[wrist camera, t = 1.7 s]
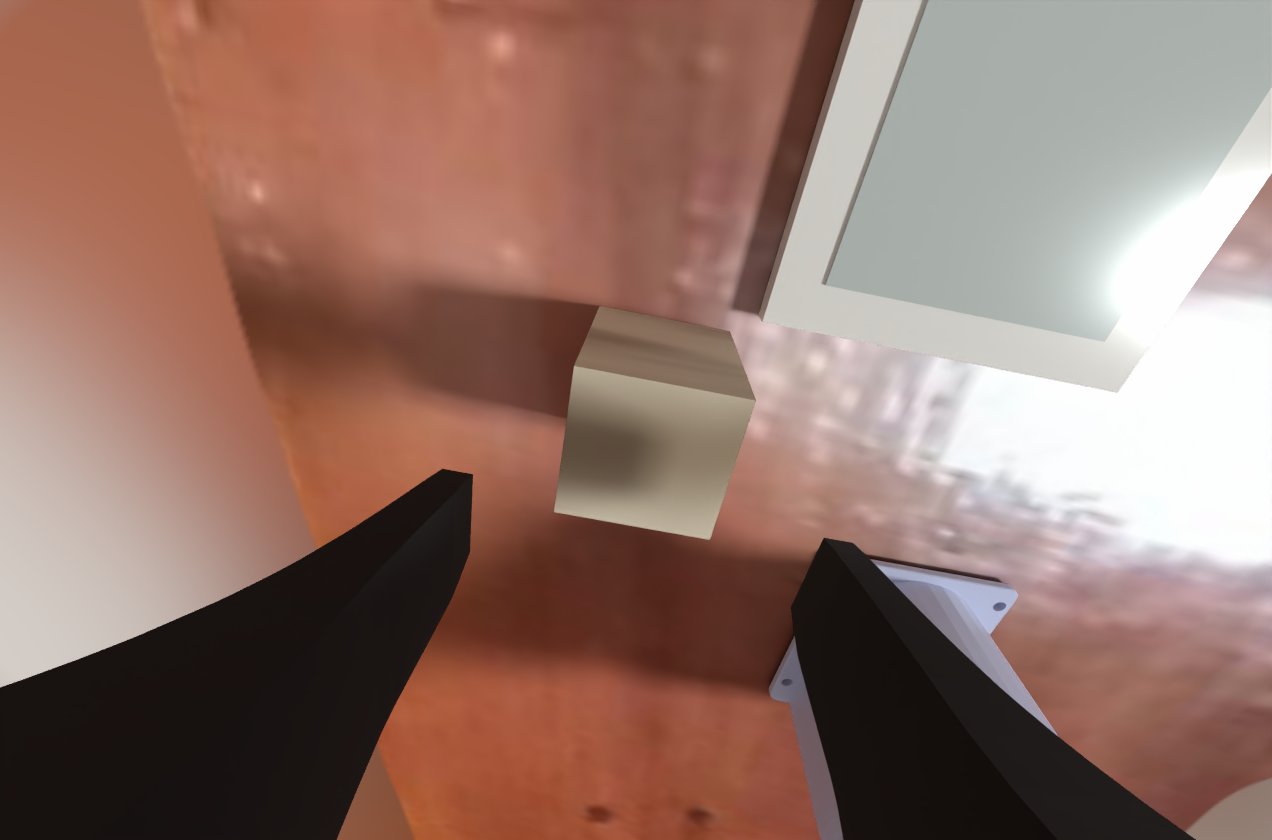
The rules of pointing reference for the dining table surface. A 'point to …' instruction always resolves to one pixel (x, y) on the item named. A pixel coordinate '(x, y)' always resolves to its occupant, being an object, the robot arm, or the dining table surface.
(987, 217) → the plate
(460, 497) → the robot arm
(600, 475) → the metal block
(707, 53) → the dining table surface
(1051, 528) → the dining table surface
